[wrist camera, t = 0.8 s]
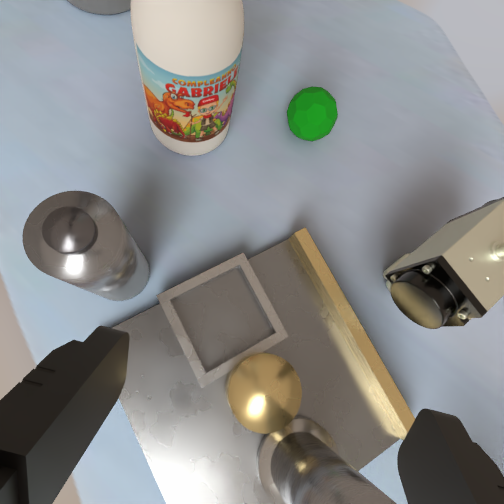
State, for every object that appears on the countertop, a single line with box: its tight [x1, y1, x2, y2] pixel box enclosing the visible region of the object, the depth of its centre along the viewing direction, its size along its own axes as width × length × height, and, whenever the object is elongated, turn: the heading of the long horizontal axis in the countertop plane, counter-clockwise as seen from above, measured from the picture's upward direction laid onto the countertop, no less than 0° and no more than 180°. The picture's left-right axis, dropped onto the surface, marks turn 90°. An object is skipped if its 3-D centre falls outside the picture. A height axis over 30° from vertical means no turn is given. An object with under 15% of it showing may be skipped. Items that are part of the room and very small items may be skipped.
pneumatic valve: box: [383, 197, 504, 329], centre depth 28 cm, size 6×12×12 cm, turn 127°
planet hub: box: [23, 191, 150, 301], centre depth 23 cm, size 5×5×13 cm
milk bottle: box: [130, 0, 244, 156], centre depth 24 cm, size 8×8×20 cm
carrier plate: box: [112, 227, 415, 504], centre depth 22 cm, size 21×20×14 cm
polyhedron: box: [287, 87, 338, 141], centre depth 33 cm, size 5×5×5 cm
